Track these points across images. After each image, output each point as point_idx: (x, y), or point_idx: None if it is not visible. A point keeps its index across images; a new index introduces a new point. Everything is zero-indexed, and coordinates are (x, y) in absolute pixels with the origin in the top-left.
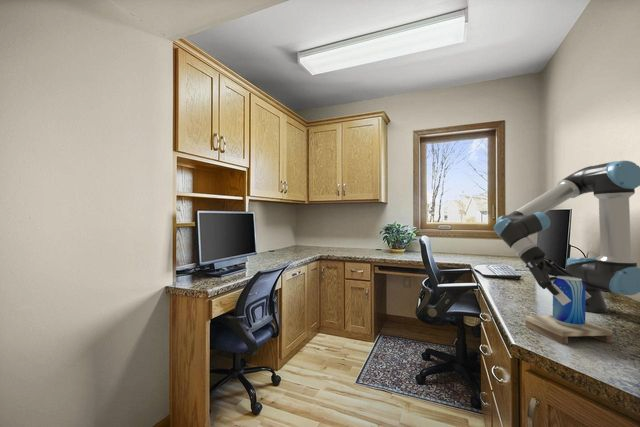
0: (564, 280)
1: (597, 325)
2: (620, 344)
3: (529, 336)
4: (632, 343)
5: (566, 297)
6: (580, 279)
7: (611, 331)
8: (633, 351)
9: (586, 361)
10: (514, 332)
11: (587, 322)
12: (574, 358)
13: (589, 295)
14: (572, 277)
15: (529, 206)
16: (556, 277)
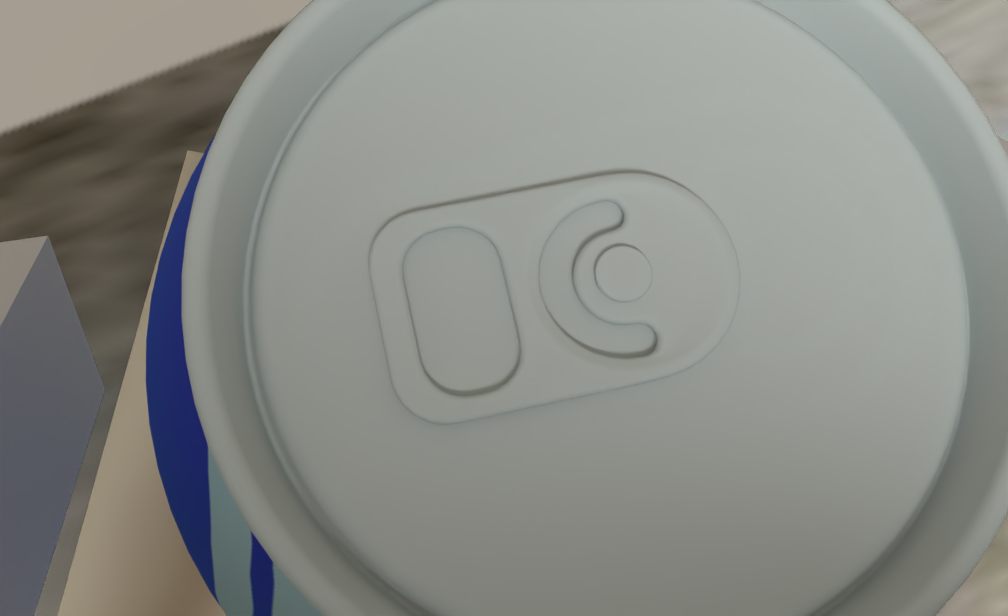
0: (982, 209)
1: (147, 315)
2: (183, 161)
3: (995, 565)
4: (13, 142)
5: (1006, 141)
6: (349, 7)
7: (201, 157)
8: (270, 36)
9: (948, 38)
10: None
11: (144, 429)
12: (999, 97)
13: (22, 251)
14: (219, 360)
15: None
16: (943, 590)
